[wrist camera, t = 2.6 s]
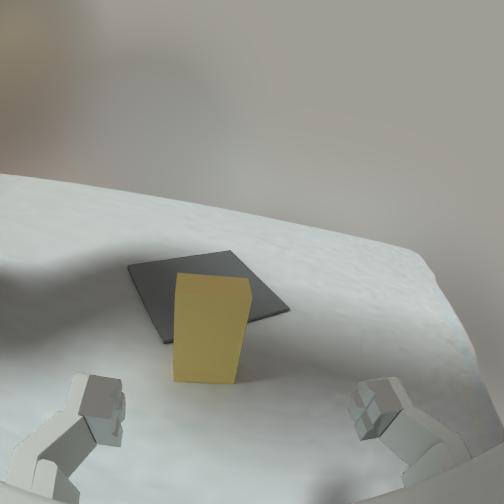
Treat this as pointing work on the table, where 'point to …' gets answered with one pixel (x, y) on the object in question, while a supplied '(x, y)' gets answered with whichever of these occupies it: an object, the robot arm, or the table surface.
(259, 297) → the mat
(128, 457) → the table surface
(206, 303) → the box
